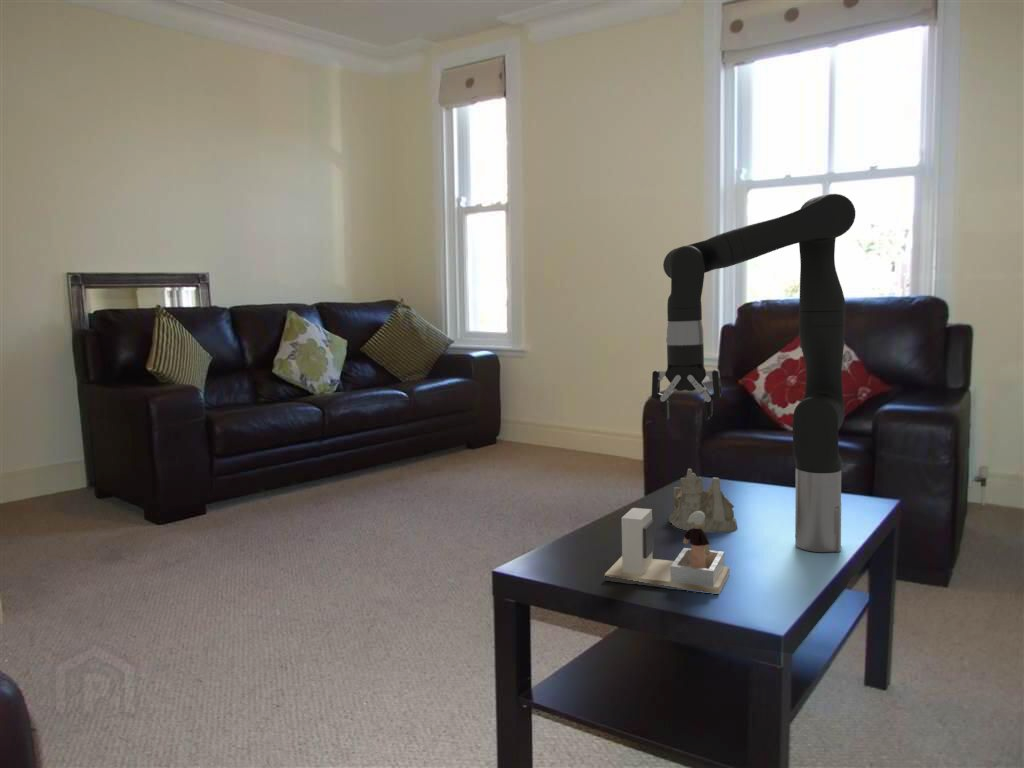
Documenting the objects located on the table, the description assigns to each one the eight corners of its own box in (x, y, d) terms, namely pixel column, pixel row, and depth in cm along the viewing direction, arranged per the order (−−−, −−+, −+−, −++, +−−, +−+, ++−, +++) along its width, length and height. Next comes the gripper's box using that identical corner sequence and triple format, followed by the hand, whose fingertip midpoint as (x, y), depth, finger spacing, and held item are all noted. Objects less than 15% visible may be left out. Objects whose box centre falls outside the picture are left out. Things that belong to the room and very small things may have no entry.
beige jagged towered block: (737, 533, 183) (735, 469, 183) (666, 532, 188) (663, 470, 187) (738, 519, 198) (735, 460, 198) (671, 519, 203) (669, 461, 202)
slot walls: (724, 566, 157) (724, 551, 157) (713, 586, 146) (713, 571, 146) (684, 562, 160) (683, 547, 160) (670, 581, 150) (670, 566, 149)
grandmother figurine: (720, 578, 151) (719, 513, 149) (706, 582, 148) (706, 516, 147) (689, 568, 157) (688, 505, 156) (676, 572, 155) (675, 508, 153)
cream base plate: (729, 574, 157) (729, 566, 157) (719, 595, 146) (719, 587, 146) (622, 562, 166) (622, 555, 166) (604, 581, 155) (604, 574, 155)
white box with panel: (655, 562, 161) (654, 509, 160) (645, 575, 154) (644, 519, 152) (633, 560, 163) (632, 507, 162) (622, 572, 155) (621, 517, 154)
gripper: (722, 340, 167) (723, 417, 168) (655, 342, 172) (657, 416, 174) (717, 342, 160) (718, 422, 161) (647, 344, 165) (649, 421, 167)
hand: (686, 418), depth 167 cm, fingers open, 8 cm apart
